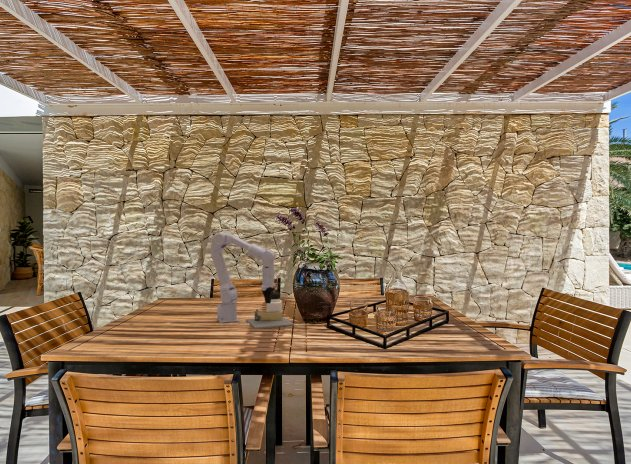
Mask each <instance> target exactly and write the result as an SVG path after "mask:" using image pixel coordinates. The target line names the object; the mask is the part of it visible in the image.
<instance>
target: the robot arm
mask: <svg viewBox="0 0 631 464" xmlns="http://www.w3.org/2000/svg"><path fill="white" fill-rule="evenodd" d="M230 244H231V245H235V246H237V247H239V248H242V249H244V250H246V251H247V252H248V255H250V256H253V257H255V258H257V259H258V260H261V262H262V271H261V272H262V273H261V274H262V276H261V278H262V279H261V281H262V284H261V287H260V290H261V292H262V294H263V297H264V298H263V299H264V302H265V304H267V303H271V298H272V294H273V292H275V287H277V284H276V283H275V259H276V254H275V252H274V251H273V250H268V248H266V247H265V248H264V247H263V246H260V243H249V242H247V241H245V240H244V239H242V238H240V237H238V236H236V235H234V234H231V233H229V232H227V231H225V232H216V233H215V234H214V235H213V236H212V238H211V244H210V249H209V250H210V252H209V253H210V256H211V259H212V263H213V264H214V269H215V271H216V274H217V278H218V281H219V284H220V288H219V292H220V300H221V301H220V303H217V306H216V311H217V312H216V313H217V314H216V315H217V317H216V320H217V321H218V322H219V324H220V323H221V324H222V323H234V322H240V320H239V318H238V308H237V307H238V303H237V302H238V301H237V299H238V297H239V291H238V290H237V289H236V287H235V285H234V283H232V280H231V278H230V275H229V271H228V267H227V265H226V262H225V258H224V256H223V251H224V249H225V248H226V247H227V246H228V245H230Z"/></svg>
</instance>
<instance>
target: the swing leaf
mask: <svg viewBox="0 0 631 464" xmlns="http://www.w3.org/2000/svg"><path fill="white" fill-rule="evenodd" d="M261 312H262V311H259V310H258V311H256V310H254V317H255V316H261V320H282V317H283V311H282V312H273V313H261Z"/></svg>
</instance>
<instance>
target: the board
mask: <svg viewBox="0 0 631 464" xmlns="http://www.w3.org/2000/svg"><path fill="white" fill-rule="evenodd" d="M245 322H247V324H249V325H250V326H251V327H252V328H254V330H259V329H272V328H283V327H294V326H295V323H294V322H292V321H290V320H288V319H287V318H286V317H284V316H282V320H259V321H255V317H254V318H246V319H245Z"/></svg>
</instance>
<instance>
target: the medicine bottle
mask: <svg viewBox="0 0 631 464" xmlns="http://www.w3.org/2000/svg"><path fill="white" fill-rule="evenodd" d="M267 311H280V312H282V313H283V300H281V293H280V292H279V291H274V292H273V294H272V298H271V303H266V312H267Z"/></svg>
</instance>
